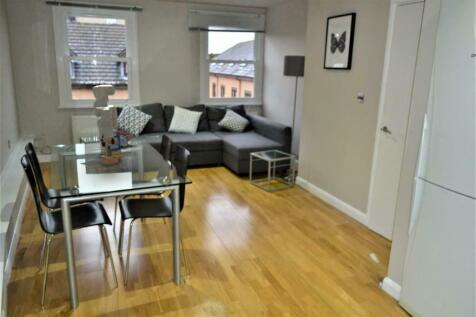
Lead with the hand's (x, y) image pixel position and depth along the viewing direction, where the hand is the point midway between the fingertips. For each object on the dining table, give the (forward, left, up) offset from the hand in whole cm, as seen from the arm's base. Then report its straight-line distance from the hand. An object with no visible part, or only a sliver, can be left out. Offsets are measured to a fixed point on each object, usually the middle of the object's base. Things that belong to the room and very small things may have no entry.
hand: (108, 145), depth 298 cm
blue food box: (-13, -9, -15) cm, 22 cm away
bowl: (+1, +1, -14) cm, 14 cm away
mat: (+9, -11, -14) cm, 20 cm away
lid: (+1, +1, -9) cm, 9 cm away
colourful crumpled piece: (-55, -43, -15) cm, 71 cm away
